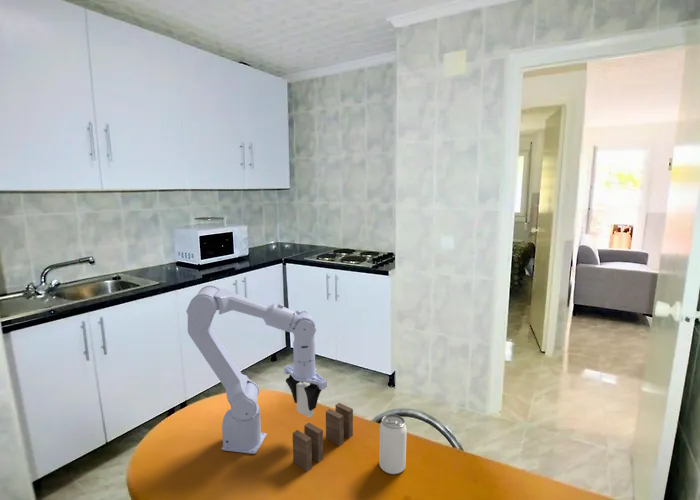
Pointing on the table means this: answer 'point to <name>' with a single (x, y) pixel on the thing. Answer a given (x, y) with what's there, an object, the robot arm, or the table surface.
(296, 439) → the domino
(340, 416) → the domino
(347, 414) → the domino
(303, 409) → the domino
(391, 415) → the can
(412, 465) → the table surface
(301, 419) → the table surface
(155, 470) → the table surface
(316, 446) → the domino
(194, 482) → the table surface
